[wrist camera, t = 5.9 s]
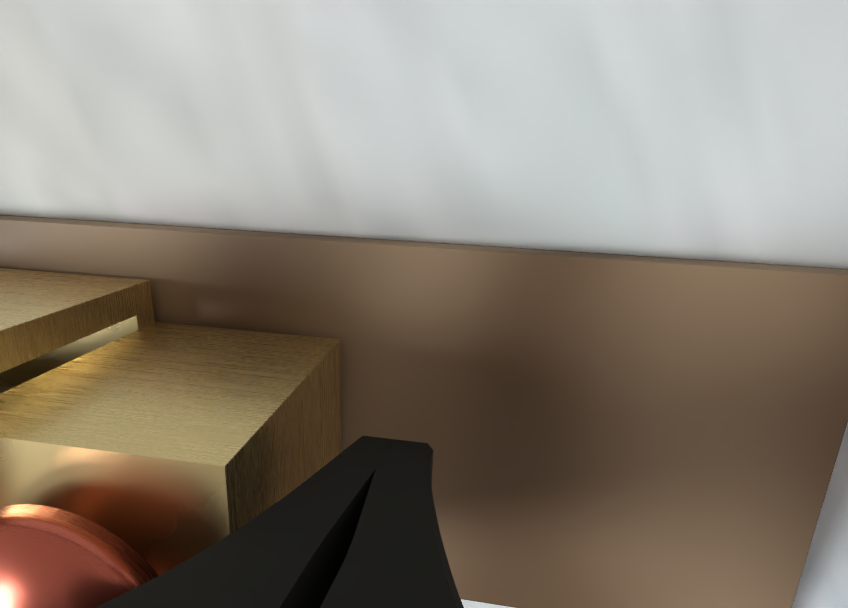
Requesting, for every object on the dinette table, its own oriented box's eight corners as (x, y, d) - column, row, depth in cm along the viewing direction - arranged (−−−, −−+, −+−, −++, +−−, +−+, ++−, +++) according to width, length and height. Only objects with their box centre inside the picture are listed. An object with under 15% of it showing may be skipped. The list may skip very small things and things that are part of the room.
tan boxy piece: (340, 295, 10) (165, 440, 5) (341, 551, 11) (212, 863, 6) (-63, 262, 11) (-550, 351, 6) (-9, 500, 13) (-353, 728, 8)
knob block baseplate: (866, 270, 9) (1324, 409, 4) (764, 623, 11) (977, 997, 6) (-237, 200, 12) (-759, 227, 7) (-147, 486, 14) (-496, 662, 9)
